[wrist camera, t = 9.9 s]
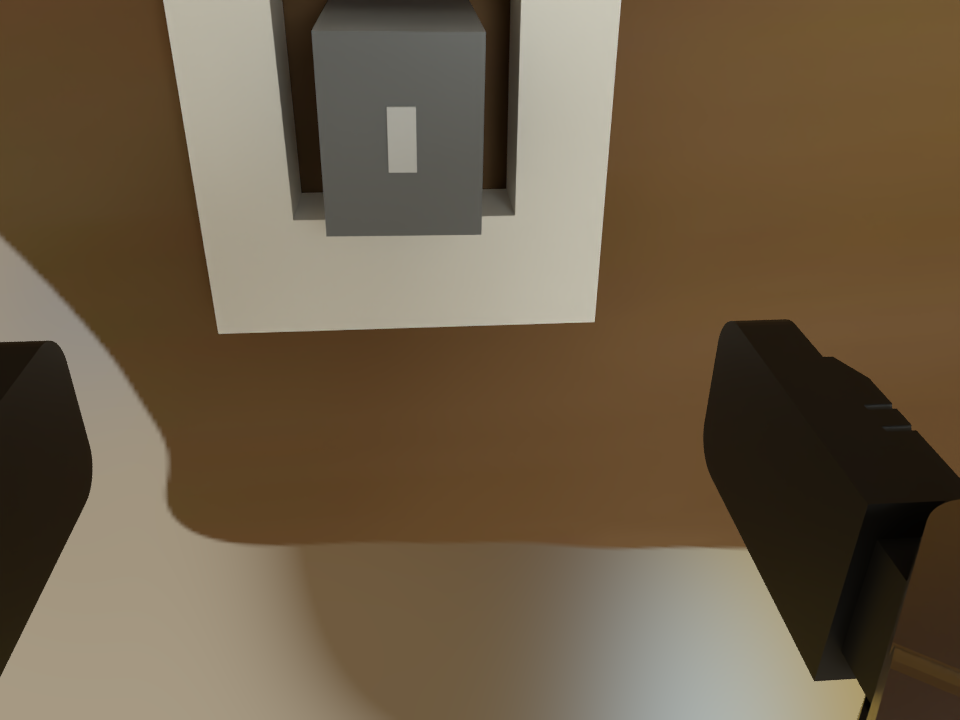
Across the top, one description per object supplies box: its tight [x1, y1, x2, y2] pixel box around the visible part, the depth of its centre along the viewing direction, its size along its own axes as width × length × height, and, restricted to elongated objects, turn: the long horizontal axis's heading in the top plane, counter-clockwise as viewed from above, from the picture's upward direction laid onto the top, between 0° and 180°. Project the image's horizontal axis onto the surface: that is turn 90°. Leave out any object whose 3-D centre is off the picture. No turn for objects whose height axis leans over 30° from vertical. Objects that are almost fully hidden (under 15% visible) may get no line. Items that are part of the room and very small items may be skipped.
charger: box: [311, 0, 486, 237], centre depth 23 cm, size 5×4×6 cm
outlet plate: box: [163, 0, 621, 334], centre depth 25 cm, size 14×12×3 cm
